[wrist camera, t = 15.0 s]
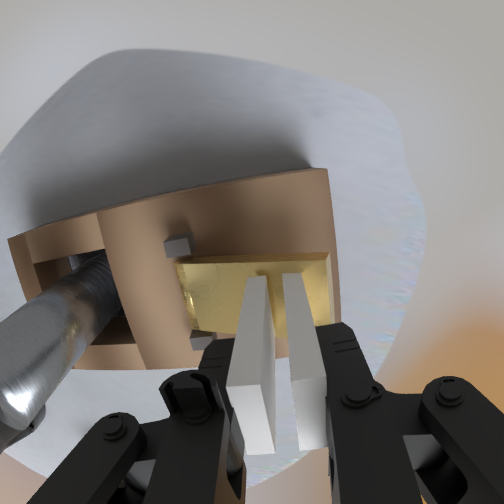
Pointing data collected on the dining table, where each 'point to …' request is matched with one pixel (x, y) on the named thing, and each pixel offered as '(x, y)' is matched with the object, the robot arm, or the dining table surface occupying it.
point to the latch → (234, 281)
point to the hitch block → (178, 257)
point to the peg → (52, 337)
